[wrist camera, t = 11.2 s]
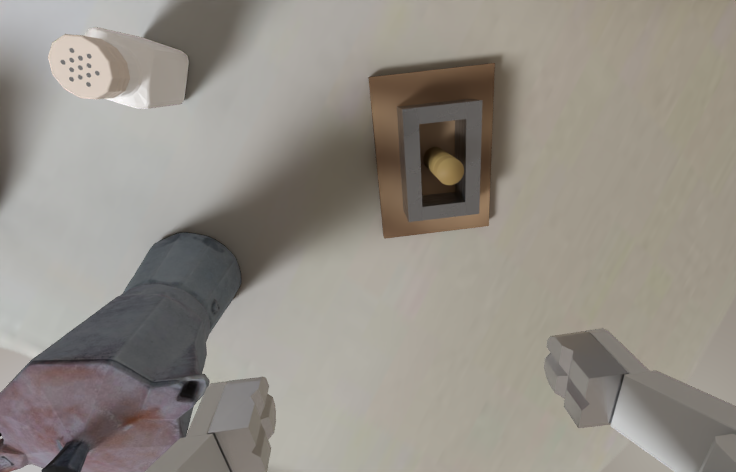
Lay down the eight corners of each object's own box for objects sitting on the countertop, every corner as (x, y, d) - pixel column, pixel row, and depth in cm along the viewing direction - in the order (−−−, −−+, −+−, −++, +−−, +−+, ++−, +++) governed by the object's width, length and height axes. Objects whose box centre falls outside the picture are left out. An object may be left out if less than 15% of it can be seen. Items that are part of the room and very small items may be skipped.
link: (396, 106, 29) (402, 109, 26) (469, 98, 29) (482, 100, 26) (403, 210, 32) (408, 222, 30) (467, 202, 33) (479, 213, 30)
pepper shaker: (133, 89, 28) (39, 93, 19) (137, 35, 27) (37, 12, 18) (186, 106, 29) (118, 117, 20) (193, 54, 27) (122, 41, 19)
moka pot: (287, 284, 36) (228, 495, 18) (157, 337, 37) (-21, 581, 19) (237, 203, 32) (97, 362, 14) (94, 265, 34) (-200, 482, 15)
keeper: (368, 77, 29) (374, 76, 23) (490, 63, 29) (524, 59, 23) (383, 234, 34) (390, 263, 29) (484, 221, 35) (511, 248, 29)
